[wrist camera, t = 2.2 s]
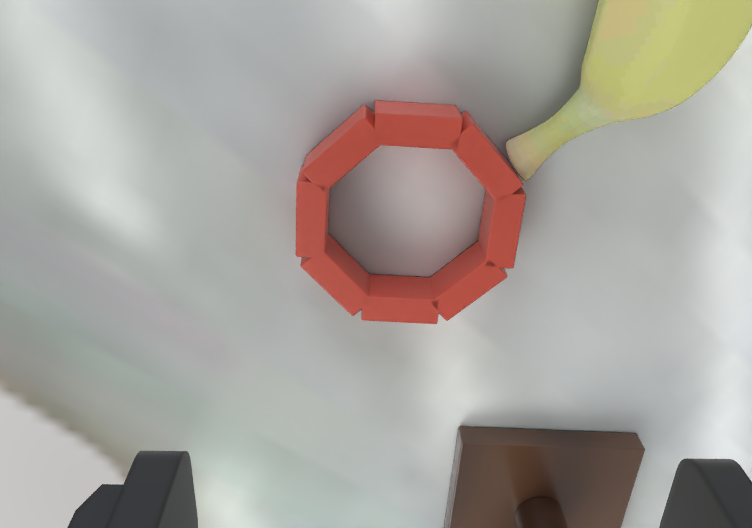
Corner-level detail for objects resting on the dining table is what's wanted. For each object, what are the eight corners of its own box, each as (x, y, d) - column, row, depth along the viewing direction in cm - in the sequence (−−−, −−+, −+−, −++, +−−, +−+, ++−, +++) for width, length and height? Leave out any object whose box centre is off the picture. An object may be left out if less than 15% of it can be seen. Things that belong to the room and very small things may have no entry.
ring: (298, 293, 30) (294, 317, 28) (302, 95, 26) (297, 107, 24) (495, 304, 30) (503, 327, 29) (527, 109, 26) (539, 123, 25)
